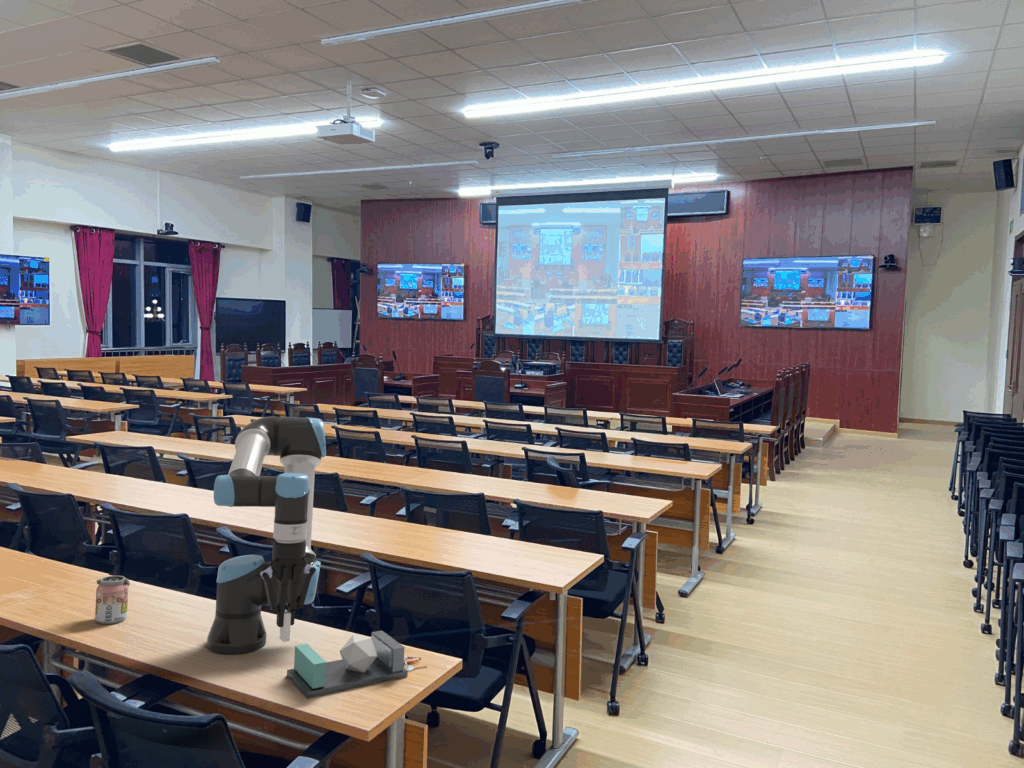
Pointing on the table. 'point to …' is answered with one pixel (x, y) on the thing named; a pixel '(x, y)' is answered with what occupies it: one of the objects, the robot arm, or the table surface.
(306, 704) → the table surface
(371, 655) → the die
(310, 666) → the bar
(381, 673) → the vise base
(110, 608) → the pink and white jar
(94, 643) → the table surface
